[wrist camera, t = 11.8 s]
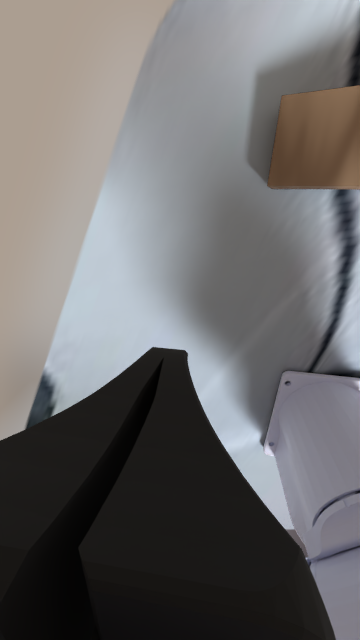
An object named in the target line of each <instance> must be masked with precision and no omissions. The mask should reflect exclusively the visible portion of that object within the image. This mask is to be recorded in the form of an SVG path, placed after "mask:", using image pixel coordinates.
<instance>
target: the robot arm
mask: <svg viewBox="0 0 360 640" xmlns="http://www.w3.org/2000/svg"><path fill="white" fill-rule="evenodd" d="M187 358H188V353H187V352H186V351H185V350H176V349H166V348H157V347H152V348H151V349H150V350H149V351H147V352H146V353H145V354H144V355H143V356H141V357H140V358H139V359H138V360H137V361H136V362H134V363H133V364H132V365H131V366H130V367H128V368H127V369H126V370H125V371H123V372H122V373H121V374H120V375H118V376H117V377H116V378H114V379H113V380H111V381H110V382H109V383H107V384H106V385H105V386H103V387H102V388H100V389H99V390H97V391H96V392H94V393H93V394H91V395H90V396H88V397H86V398H85V399H83V400H81V401H80V402H78V403H76V404H75V405H73V406H71V407H69V408H68V409H66V410H64V411H62V412H60V413H58V414H56V415H54V416H52V417H50V418H48V419H46V420H44V421H42V422H40V423H38V424H36V425H34V426H32V427H30V428H28V429H26V430H24V431H21V432H20V433H17V434H15V435H12V436H10V437H8V438H5V439H3V440H1V441H0V640H360V378H354V377H344V376H334V375H324V374H315V373H305V372H295V371H286V372H284V373H283V374H282V376H281V380H280V384H279V388H278V392H277V396H276V400H275V404H274V408H273V412H272V416H271V420H270V424H269V428H268V432H267V436H266V440H265V443H264V447H263V450H264V453H265V454H267V455H272V456H275V458H276V462H277V466H278V470H279V474H280V478H281V482H282V486H283V490H284V494H285V498H286V502H287V506H288V510H289V514H290V517H291V521H292V523H293V526H294V528H295V530H296V532H297V534H298V536H299V537H300V538H301V540H302V541H303V543H304V544H305V546H306V550H307V554H308V557H307V558H305V556H304V553H303V551H302V549H301V548H300V546H299V545H298V544H297V543H296V542H295V541H294V539H293V538H292V537H291V536H290V535H289V534H288V532H287V531H286V530H285V529H284V527H283V526H282V525H281V524H280V523H279V522H278V520H277V519H276V518H275V517H274V515H273V514H272V513H271V512H270V510H269V509H268V508H267V507H266V505H265V504H264V503H263V502H262V500H261V499H260V498H259V496H258V495H257V494H256V492H255V491H254V490H253V488H252V487H251V486H250V484H249V483H248V482H247V480H246V479H245V478H244V476H243V475H242V473H241V472H240V470H239V469H238V467H237V466H236V464H235V463H234V461H233V460H232V458H231V457H230V455H229V454H228V452H227V451H226V449H225V448H224V446H223V445H222V443H221V441H220V440H219V438H218V436H217V435H216V433H215V431H214V429H213V428H212V426H211V424H210V422H209V420H208V418H207V416H206V414H205V412H204V410H203V408H202V405H201V403H200V401H199V398H198V396H197V393H196V391H195V388H194V385H193V382H192V379H191V376H190V372H189V367H188V361H187ZM286 381H289V382H288V383H285V382H286ZM270 442H272V443H270Z"/></svg>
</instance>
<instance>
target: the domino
mask: <svg viewBox="0 0 360 640" xmlns="http://www.w3.org/2000/svg"><path fill="white" fill-rule="evenodd" d="M267 186H268V187H270V188H271V189H360V85H359V86H351V87H344V88H336V89H328V90H321V91H313V92H306V93H298V94H291V95H283V96H282V98H281V104H280V110H279V116H278V123H277V129H276V135H275V141H274V147H273V154H272V160H271V166H270V172H269V178H268V185H267Z"/></svg>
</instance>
